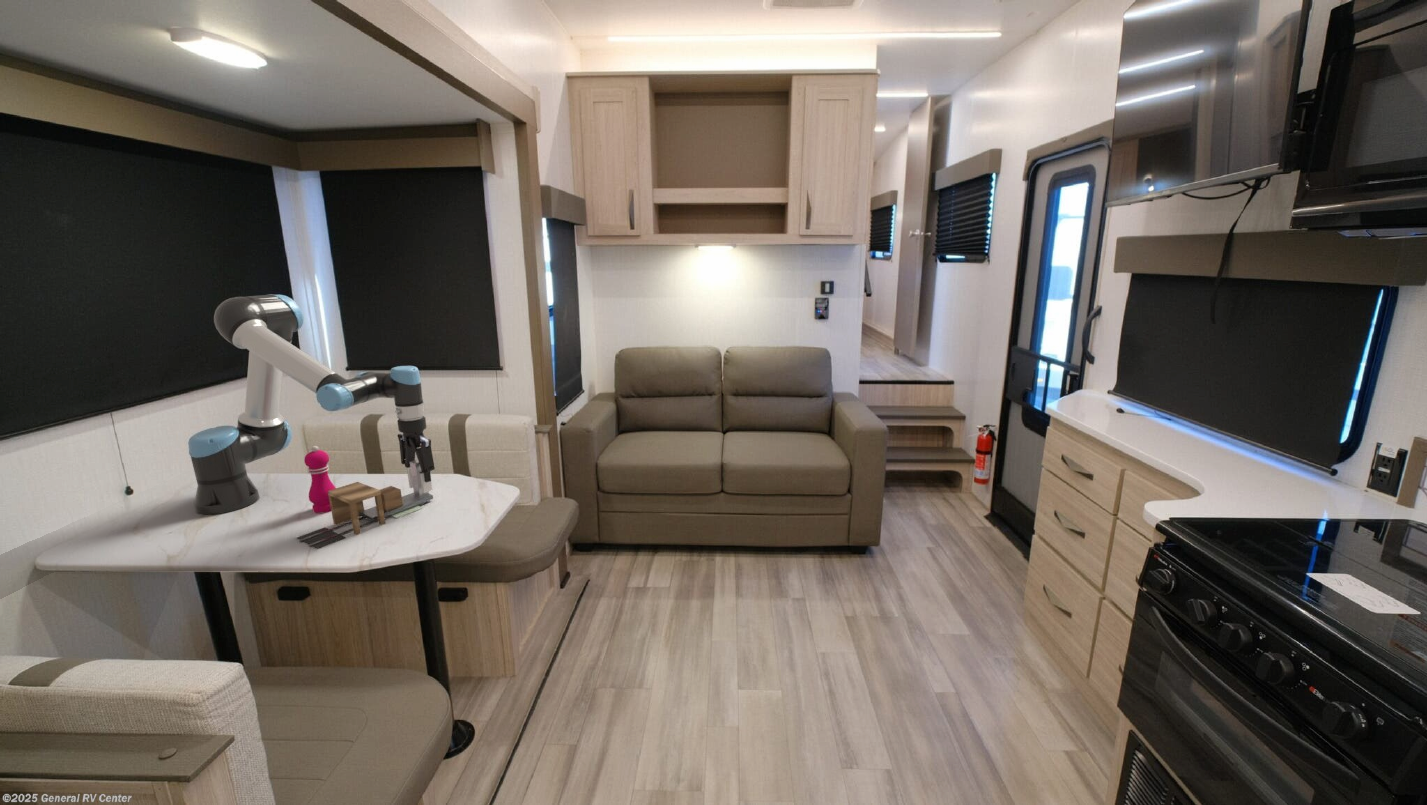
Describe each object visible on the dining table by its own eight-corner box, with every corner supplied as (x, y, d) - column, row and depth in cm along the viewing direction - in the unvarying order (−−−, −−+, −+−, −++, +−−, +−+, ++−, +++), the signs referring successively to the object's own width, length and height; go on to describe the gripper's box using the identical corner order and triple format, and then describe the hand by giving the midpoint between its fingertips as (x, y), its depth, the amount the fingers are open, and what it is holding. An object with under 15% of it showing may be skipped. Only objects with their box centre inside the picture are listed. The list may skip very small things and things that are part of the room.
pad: (375, 509, 171) (375, 508, 171) (401, 500, 178) (401, 499, 178) (396, 518, 166) (396, 517, 166) (422, 508, 172) (422, 507, 172)
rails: (299, 541, 152) (299, 539, 152) (414, 499, 179) (413, 497, 178) (310, 547, 149) (310, 545, 149) (425, 503, 176) (424, 502, 175)
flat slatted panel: (297, 538, 154) (296, 537, 154) (325, 528, 160) (324, 527, 160) (317, 549, 148) (317, 548, 148) (345, 538, 154) (345, 537, 154)
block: (376, 507, 168) (374, 491, 167) (393, 501, 172) (391, 485, 171) (386, 511, 166) (383, 495, 165) (402, 504, 170) (400, 489, 169)
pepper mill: (325, 515, 168) (314, 450, 163) (305, 512, 169) (292, 449, 164) (345, 504, 174) (335, 443, 169) (325, 502, 176) (314, 441, 171)
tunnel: (333, 524, 162) (327, 491, 159) (362, 513, 169) (357, 481, 166) (356, 534, 156) (350, 500, 153) (385, 523, 162) (380, 490, 160)
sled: (359, 515, 165) (353, 476, 162) (420, 493, 181) (415, 457, 178) (373, 521, 162) (366, 481, 159) (433, 498, 177) (428, 461, 174)
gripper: (380, 415, 173) (391, 486, 179) (418, 425, 163) (428, 499, 169) (404, 410, 179) (414, 478, 185) (442, 419, 169) (450, 491, 175)
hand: (420, 488), depth 177 cm, fingers open, 6 cm apart
